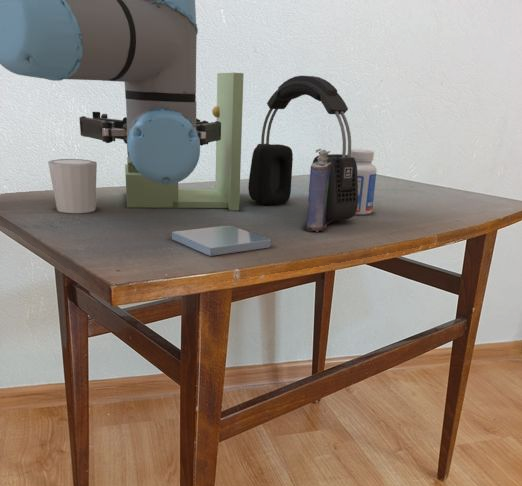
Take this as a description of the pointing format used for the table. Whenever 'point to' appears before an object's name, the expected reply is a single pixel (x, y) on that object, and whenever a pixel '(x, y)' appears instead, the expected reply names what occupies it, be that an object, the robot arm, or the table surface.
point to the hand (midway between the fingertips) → (149, 124)
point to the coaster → (220, 240)
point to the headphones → (343, 166)
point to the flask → (318, 192)
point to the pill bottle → (365, 180)
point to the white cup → (74, 184)
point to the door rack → (227, 161)
